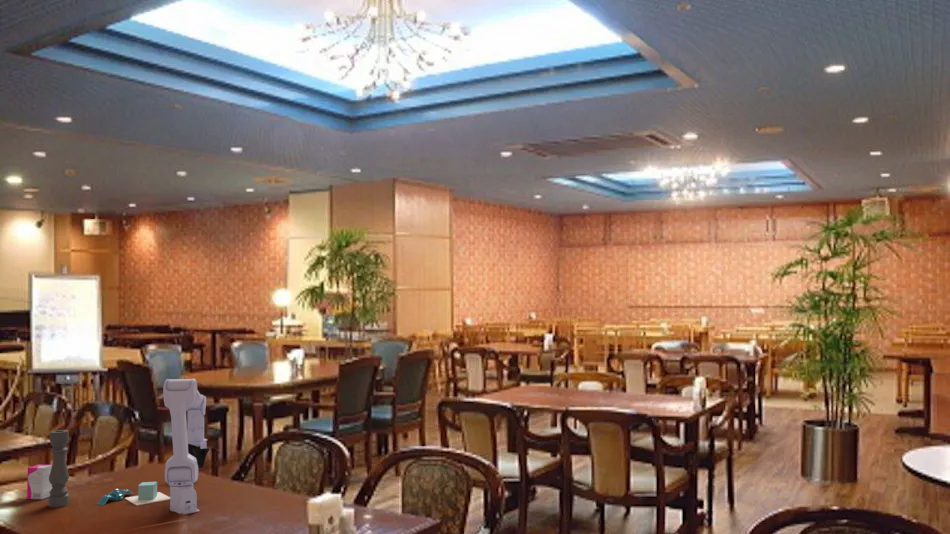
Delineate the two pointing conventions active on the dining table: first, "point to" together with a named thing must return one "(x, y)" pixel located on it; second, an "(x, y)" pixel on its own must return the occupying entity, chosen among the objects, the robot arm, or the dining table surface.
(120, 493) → the flying bird
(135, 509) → the dining table surface
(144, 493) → the teal cube
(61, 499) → the candle holder
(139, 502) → the mat
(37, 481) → the supplement box
